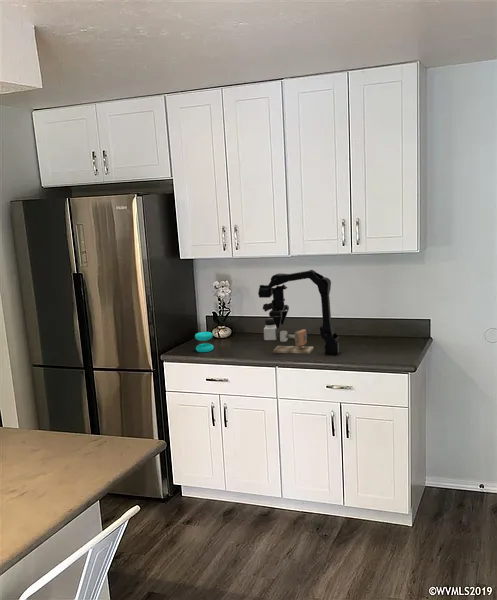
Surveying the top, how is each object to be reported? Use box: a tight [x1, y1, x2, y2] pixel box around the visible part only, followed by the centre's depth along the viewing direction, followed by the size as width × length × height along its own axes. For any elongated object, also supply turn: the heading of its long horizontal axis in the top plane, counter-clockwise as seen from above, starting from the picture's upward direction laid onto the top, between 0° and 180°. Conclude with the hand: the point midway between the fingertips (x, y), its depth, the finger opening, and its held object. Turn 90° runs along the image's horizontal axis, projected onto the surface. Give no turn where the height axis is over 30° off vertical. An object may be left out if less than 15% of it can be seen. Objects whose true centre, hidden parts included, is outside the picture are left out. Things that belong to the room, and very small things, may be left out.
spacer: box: [299, 329, 308, 346], centre depth 324 cm, size 2×7×7 cm, turn 162°
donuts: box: [194, 331, 215, 353], centre depth 338 cm, size 10×10×10 cm
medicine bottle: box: [263, 317, 279, 341], centre depth 356 cm, size 7×7×12 cm
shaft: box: [279, 330, 308, 342], centre depth 325 cm, size 14×4×5 cm, turn 72°
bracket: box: [272, 330, 314, 355], centre depth 326 cm, size 20×10×10 cm, turn 72°
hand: (280, 326), depth 324 cm, fingers open, 9 cm apart
